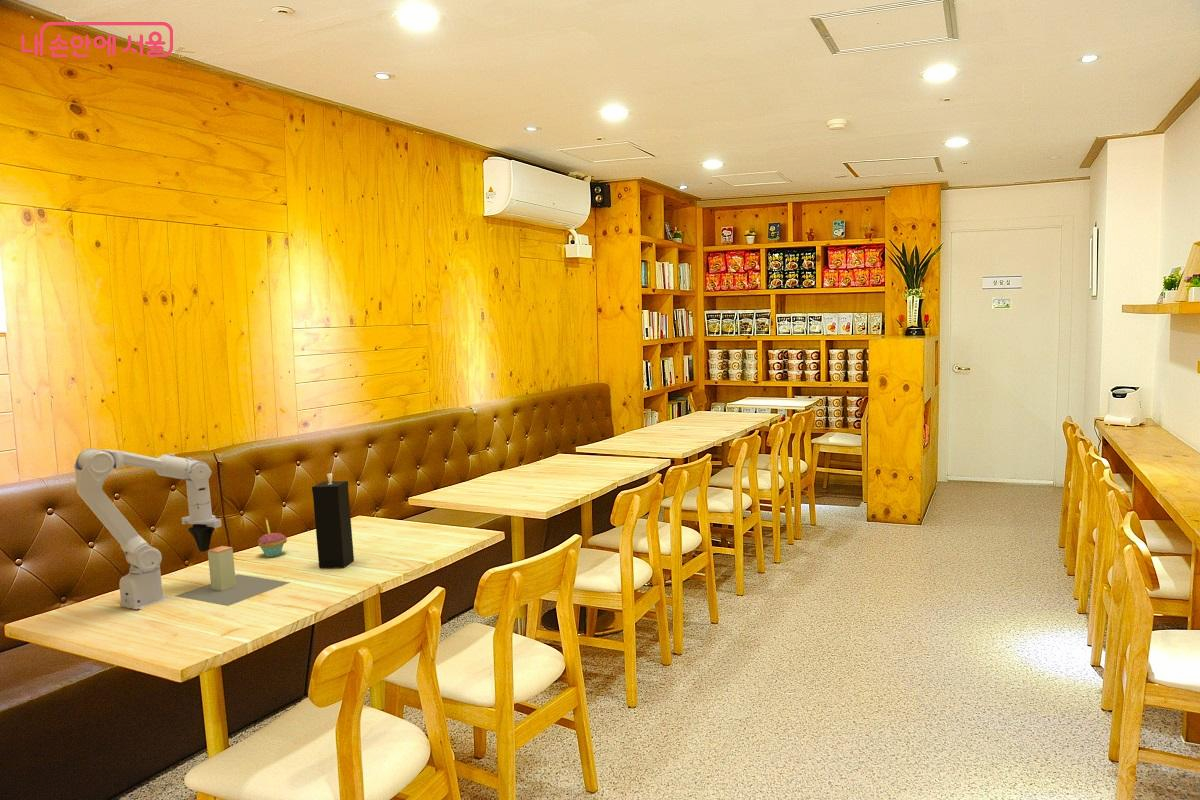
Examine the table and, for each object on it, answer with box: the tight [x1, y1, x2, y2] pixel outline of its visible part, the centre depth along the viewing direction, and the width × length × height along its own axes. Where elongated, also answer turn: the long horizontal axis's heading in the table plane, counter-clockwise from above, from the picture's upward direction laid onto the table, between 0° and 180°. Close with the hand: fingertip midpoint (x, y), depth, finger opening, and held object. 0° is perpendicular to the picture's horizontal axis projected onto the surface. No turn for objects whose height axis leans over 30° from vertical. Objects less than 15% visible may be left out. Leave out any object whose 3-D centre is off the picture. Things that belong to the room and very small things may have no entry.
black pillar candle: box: [311, 472, 355, 569], centre depth 248 cm, size 8×8×28 cm
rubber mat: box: [175, 573, 291, 607], centre depth 228 cm, size 20×22×1 cm
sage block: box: [207, 545, 236, 591], centre depth 229 cm, size 4×4×11 cm
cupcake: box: [257, 518, 288, 558], centre depth 263 cm, size 9×8×12 cm
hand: (204, 550), depth 232 cm, fingers closed
